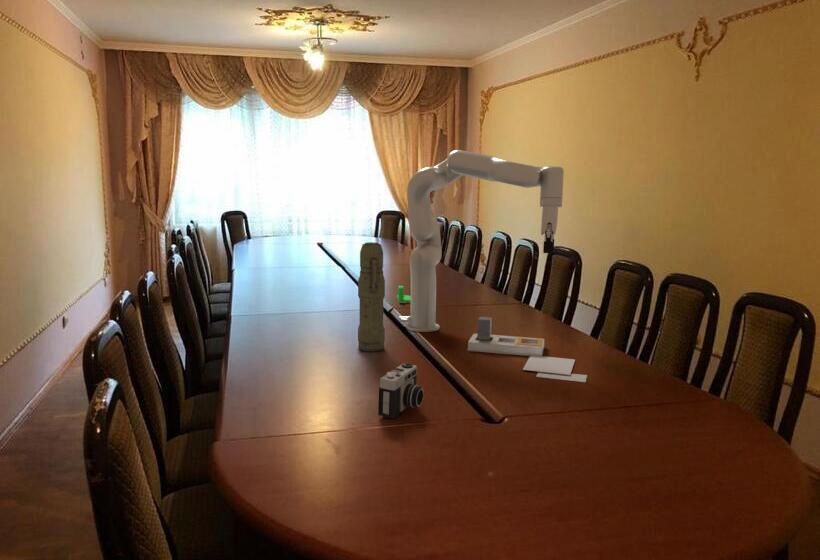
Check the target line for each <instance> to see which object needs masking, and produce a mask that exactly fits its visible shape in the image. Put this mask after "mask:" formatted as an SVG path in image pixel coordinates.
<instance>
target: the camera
mask: <svg viewBox="0 0 820 560" xmlns="http://www.w3.org/2000/svg"><path fill="white" fill-rule="evenodd" d="M417 376H418V368H417V365H414V364H412V363H402V364H400V365H399V366H397V367H395V369H392V370H391V371H387V372H386V374H385V375H383V376H382V377H381V378H380V381H379V382H380V383H379V387H378V407H377V408H378V409H377V410H378V413H377V415H378V416H381V417H385V418H390V419H394V418H396V417H397V416H398V415H400V414H401V413H402V412H403V411H404V410H406V409H407V408H409V409H413V408H419V407H421V405H422V404H423V402H424V401H423V400H424V396H425V390H424V388H423V387H422V386H419V385H418V384H417V378H418V377H417Z"/></svg>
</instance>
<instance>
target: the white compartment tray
mask: <svg viewBox="0 0 820 560" xmlns="http://www.w3.org/2000/svg"><path fill="white" fill-rule="evenodd" d="M544 349H545V338H540V337H539V338H538V337H525V336H515V335H499V334H491V341H481V340H478V333H473V334H472V336H470V338H469V340H468V343H467V351H468V352H479V353H489V354H491V353H492V354H499V355H501V354H503V355H512V356H513V355H514V356H527V357H530V356H531V355H536V356H543V354H544Z"/></svg>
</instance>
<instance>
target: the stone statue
mask: <svg viewBox="0 0 820 560" xmlns="http://www.w3.org/2000/svg"><path fill="white" fill-rule="evenodd" d="M359 268H360V271H359V277H358V280H357V296H358V299H359V325H358V327H357V341H358V345H357V347H358V350H360V351H363V352H379V351H382V350H384V349H385V341H386V339H385V337H386V336H385V335H386V334H385V333H386V329H385V325H384V298H385V297H386V291H385V290H386V286H385V285H386V279H385V277H384V269H383V268H384V251H383V246H382V244H380V243H379V242H364V243H362V245H361V248H360V251H359Z"/></svg>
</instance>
